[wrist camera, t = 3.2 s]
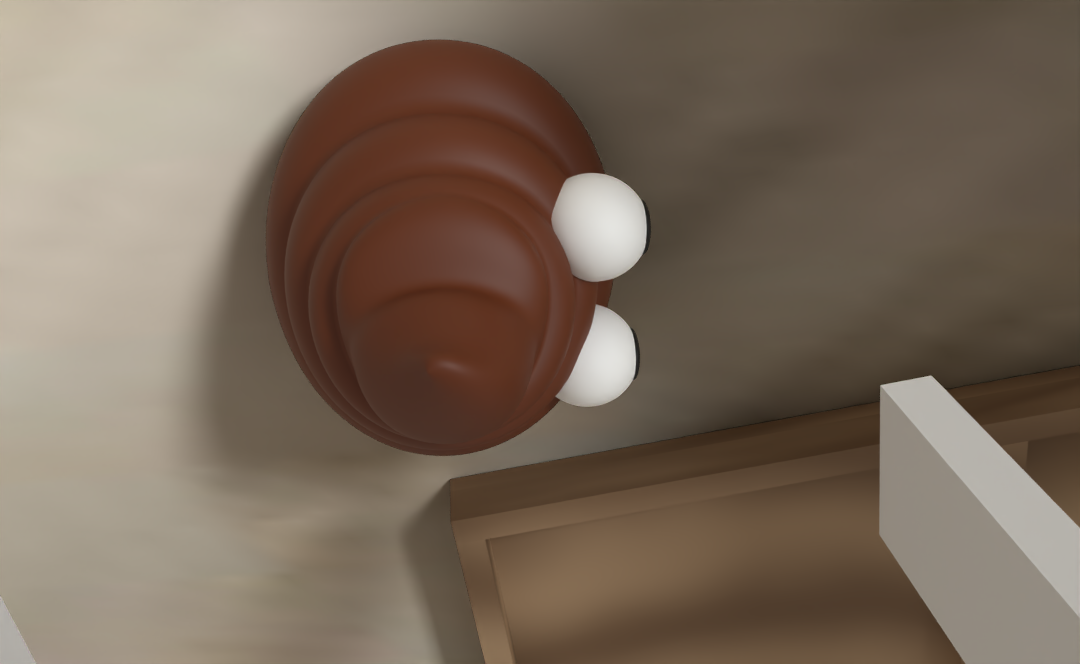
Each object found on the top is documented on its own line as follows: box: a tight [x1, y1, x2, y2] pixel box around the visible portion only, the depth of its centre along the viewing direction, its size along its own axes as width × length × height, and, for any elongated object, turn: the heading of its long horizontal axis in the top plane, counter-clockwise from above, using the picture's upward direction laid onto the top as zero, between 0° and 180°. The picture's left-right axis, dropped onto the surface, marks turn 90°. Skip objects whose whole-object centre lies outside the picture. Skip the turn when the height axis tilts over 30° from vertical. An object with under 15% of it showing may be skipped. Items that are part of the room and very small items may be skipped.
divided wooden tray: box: [450, 366, 1080, 664], centre depth 31 cm, size 16×31×2 cm, turn 99°
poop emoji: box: [266, 40, 651, 456], centre depth 21 cm, size 10×8×9 cm
